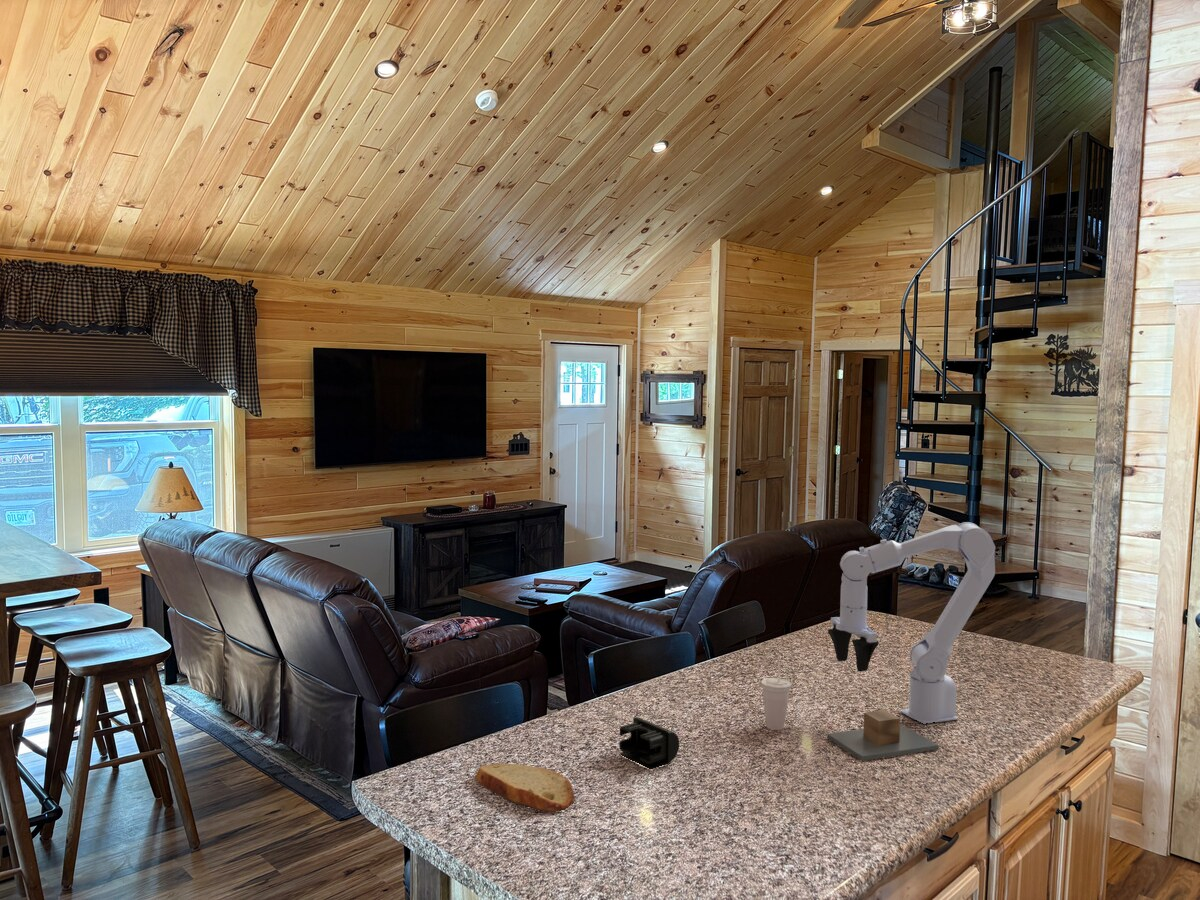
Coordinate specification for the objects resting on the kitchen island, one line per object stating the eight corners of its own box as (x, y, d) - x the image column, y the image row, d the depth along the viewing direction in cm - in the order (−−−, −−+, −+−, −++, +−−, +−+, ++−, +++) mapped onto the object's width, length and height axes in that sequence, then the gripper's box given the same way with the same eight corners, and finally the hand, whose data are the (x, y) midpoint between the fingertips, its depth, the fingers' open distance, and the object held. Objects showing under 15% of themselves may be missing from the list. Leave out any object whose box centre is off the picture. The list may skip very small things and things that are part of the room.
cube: (883, 733, 186) (884, 709, 186) (899, 742, 181) (900, 718, 181) (863, 736, 184) (864, 712, 184) (878, 745, 180) (879, 721, 179)
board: (899, 728, 192) (900, 723, 192) (938, 749, 180) (938, 745, 180) (827, 738, 186) (827, 733, 186) (862, 761, 174) (862, 756, 174)
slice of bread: (475, 772, 169) (475, 753, 168) (571, 770, 170) (571, 751, 170) (468, 818, 151) (468, 796, 151) (575, 815, 152) (575, 794, 152)
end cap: (679, 762, 173) (680, 728, 173) (652, 772, 169) (653, 737, 168) (644, 746, 181) (644, 713, 180) (617, 755, 176) (618, 721, 176)
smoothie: (790, 733, 188) (792, 668, 187) (759, 731, 189) (760, 665, 188) (790, 722, 194) (791, 659, 193) (760, 720, 196) (761, 656, 195)
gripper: (819, 599, 205) (818, 657, 206) (857, 614, 192) (856, 677, 193) (846, 597, 208) (844, 655, 209) (885, 612, 194) (883, 674, 195)
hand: (851, 665), depth 201 cm, fingers open, 7 cm apart
